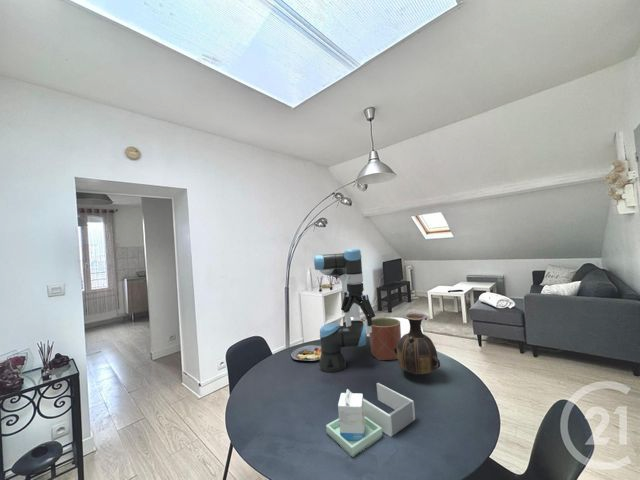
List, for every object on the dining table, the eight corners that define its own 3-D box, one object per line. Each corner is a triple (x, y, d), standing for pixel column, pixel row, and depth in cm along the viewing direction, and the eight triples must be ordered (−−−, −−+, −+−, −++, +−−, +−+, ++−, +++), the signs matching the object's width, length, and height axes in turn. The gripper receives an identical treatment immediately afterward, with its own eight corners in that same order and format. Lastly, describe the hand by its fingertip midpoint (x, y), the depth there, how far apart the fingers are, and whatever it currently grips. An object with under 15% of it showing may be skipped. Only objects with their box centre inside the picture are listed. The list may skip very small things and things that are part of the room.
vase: (388, 370, 138) (384, 313, 139) (417, 361, 145) (412, 308, 146) (420, 391, 117) (414, 324, 118) (451, 379, 124) (446, 316, 125)
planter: (407, 360, 148) (404, 325, 148) (373, 363, 148) (371, 327, 149) (397, 347, 167) (395, 316, 167) (368, 349, 167) (365, 318, 168)
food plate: (335, 348, 172) (334, 343, 173) (324, 365, 150) (323, 358, 151) (300, 347, 181) (300, 342, 181) (285, 363, 159) (285, 357, 159)
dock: (355, 412, 105) (354, 394, 105) (379, 398, 113) (378, 382, 113) (390, 437, 90) (389, 416, 91) (415, 419, 98) (413, 400, 99)
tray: (326, 433, 94) (326, 425, 95) (355, 416, 103) (354, 409, 103) (352, 457, 83) (351, 448, 83) (382, 436, 91) (381, 427, 91)
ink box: (364, 442, 88) (361, 402, 88) (340, 440, 90) (337, 400, 90) (365, 424, 96) (362, 388, 97) (343, 423, 98) (340, 387, 99)
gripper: (331, 281, 127) (335, 325, 127) (368, 286, 106) (372, 338, 106) (343, 279, 131) (347, 321, 131) (381, 284, 110) (384, 333, 110)
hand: (358, 329), depth 118 cm, fingers open, 13 cm apart
